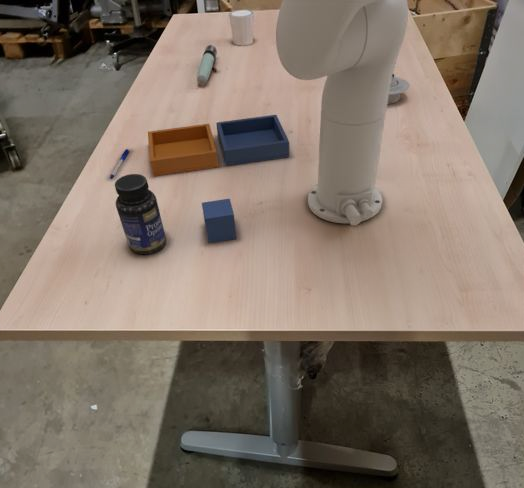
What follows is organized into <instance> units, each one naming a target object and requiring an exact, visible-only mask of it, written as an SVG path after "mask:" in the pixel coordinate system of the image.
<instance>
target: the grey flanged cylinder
mask: <svg viewBox="0 0 524 488" xmlns="http://www.w3.org/2000/svg"><path fill="white" fill-rule="evenodd" d="M395 68H396V66H395V67H394V69H395ZM409 89H410V82H409V81H407V80H406V79H404V78H401V77H398V76H395V74H394V73H393V75H392V80H391V85H390V90H389V96H388V103H387V105H390V104H395V103H397V102H398V101H399V100H400V97H401V93H403V92H405V91H408V90H409Z"/></svg>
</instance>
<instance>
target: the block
mask: <svg viewBox="0 0 524 488" xmlns="http://www.w3.org/2000/svg"><path fill="white" fill-rule="evenodd" d="M201 209H202V214H203V220H204V226H205V232H206V237H207V242H208V244H211V243H217V242H218V243H219V242H225V241H231V240H237V231H236V222H235V221H236V220H235V213H234V210H233V205H232V201H231V198H224V199H216V200H209V201H204V202H201Z"/></svg>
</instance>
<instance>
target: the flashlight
mask: <svg viewBox="0 0 524 488" xmlns="http://www.w3.org/2000/svg"><path fill="white" fill-rule="evenodd" d="M217 54H218V50H217V47H216V46H215V45H213V44H208V45H206V47H205V49H204V52H203V54H202V57H201V60H200V63H199V66H198V70H197V76H196V77H197V78H196V81H197V84H199V85H201V86H203V85H205V84H206V83H207V82H208V79H209V78H210V75H211V73H212V71H213V72H214V73H216V72H217V71H218V68H216V67H215V66H214V65H215V62H216V58H217Z"/></svg>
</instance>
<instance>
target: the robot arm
mask: <svg viewBox="0 0 524 488" xmlns="http://www.w3.org/2000/svg"><path fill="white" fill-rule="evenodd" d="M408 5H409V4H408V0H282V1H281V5H280V7H279V11H278V15H277V21H276V27H275V45H276V51H277V56H278V59H279V61H280V64H281V65H282V67H283V68H284V70H285V71H286V72H287V73H288V74H289V75H290V76H292V77H293V78H294V79H298V80H301V81H314V80H318V79H321V78H325V77H326V79H325V82H324V85H323V89H322V94H321V104H320V122H319V123H320V125H319V145H318V169H317V183H316V185H314V186H313V187H312V188H311V189H310V190H309V192H308V196H307V205H308V208H309V209H310V212H312V213H313V214H314V215H315V216H317V217H319V219H322V220H325V221H327V222H330V223H336V224H346V225H347V224H350V226H353V227H354V226H358V225H360V223H362V222H364V221H367V220H370V219H371V218H373V217H375V216H376V215H378V213H379V212H380V211H381V208H382V206H383V195H382V192H381V191H380V190H379V189H378V187H376V184H377V183H376V182H377V175H378V169H379V162H380V157H381V156H380V155H381V149H382V141H383V134H384V130H385V129H384V127H385V121H386V116H387V115H386V114H387V109H388V104H387V103H388V96H389V90H390V85H391V80H392V75H393V74H394V70H395V68H396V63H397V61H398V57H399V54H400V51H401V48H402V45H403V42H404V39H405V35H406V31H407V26H408V21H409V7H408ZM394 67H395V68H394Z"/></svg>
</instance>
